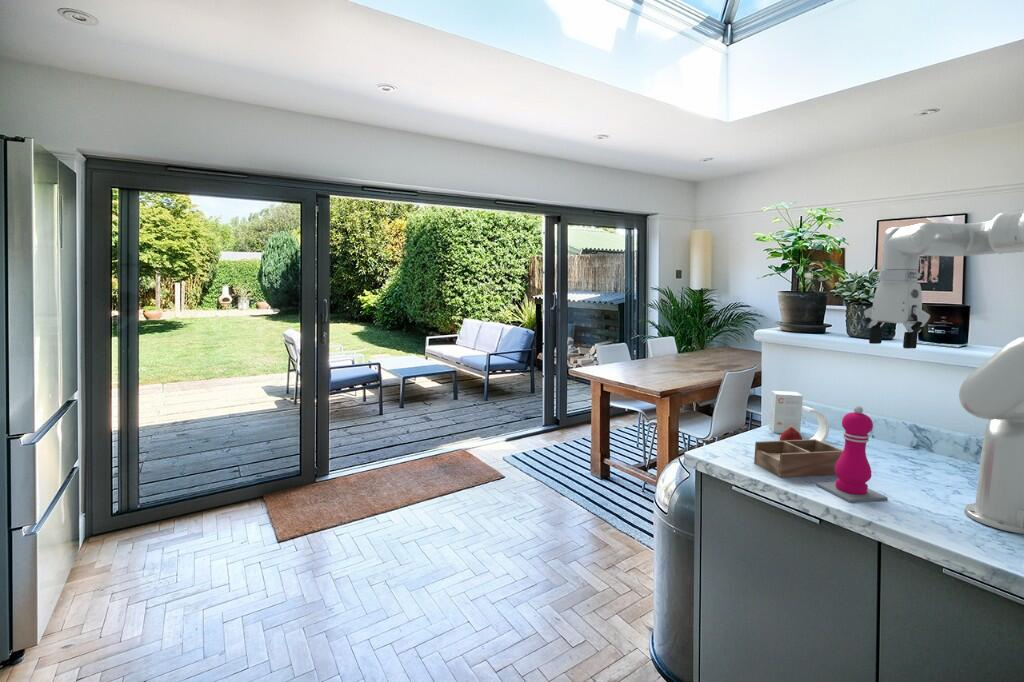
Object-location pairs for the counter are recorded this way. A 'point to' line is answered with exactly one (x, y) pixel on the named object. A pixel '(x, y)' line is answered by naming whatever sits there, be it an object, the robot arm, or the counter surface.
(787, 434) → the onion
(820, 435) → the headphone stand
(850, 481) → the pepper mill
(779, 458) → the upper offcut
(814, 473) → the box
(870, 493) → the mat
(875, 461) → the counter surface
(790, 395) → the small box
